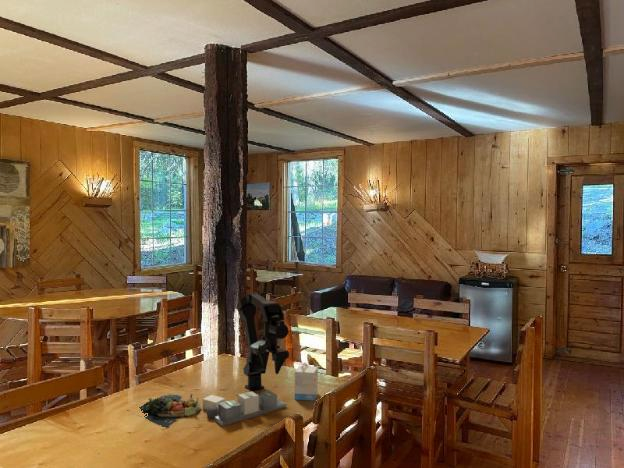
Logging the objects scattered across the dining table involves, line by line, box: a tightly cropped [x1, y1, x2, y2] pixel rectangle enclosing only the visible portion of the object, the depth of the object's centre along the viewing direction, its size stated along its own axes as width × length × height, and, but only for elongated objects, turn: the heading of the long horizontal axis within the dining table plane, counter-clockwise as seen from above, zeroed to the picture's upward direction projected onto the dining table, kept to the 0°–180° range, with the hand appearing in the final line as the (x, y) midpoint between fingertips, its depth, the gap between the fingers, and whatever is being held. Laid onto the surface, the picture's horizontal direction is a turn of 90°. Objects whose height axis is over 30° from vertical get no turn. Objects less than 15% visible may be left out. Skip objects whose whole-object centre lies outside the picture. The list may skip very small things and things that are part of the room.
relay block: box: [202, 394, 226, 411], centre depth 178 cm, size 7×5×4 cm
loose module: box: [237, 390, 259, 415], centre depth 172 cm, size 5×6×6 cm
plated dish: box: [139, 393, 203, 429], centre depth 177 cm, size 35×28×7 cm
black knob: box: [206, 407, 218, 420], centre depth 171 cm, size 4×4×3 cm
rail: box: [214, 389, 287, 427], centre depth 173 cm, size 6×28×6 cm, turn 128°
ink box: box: [294, 361, 319, 402], centre depth 191 cm, size 9×8×13 cm
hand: (270, 371), depth 186 cm, fingers open, 9 cm apart
